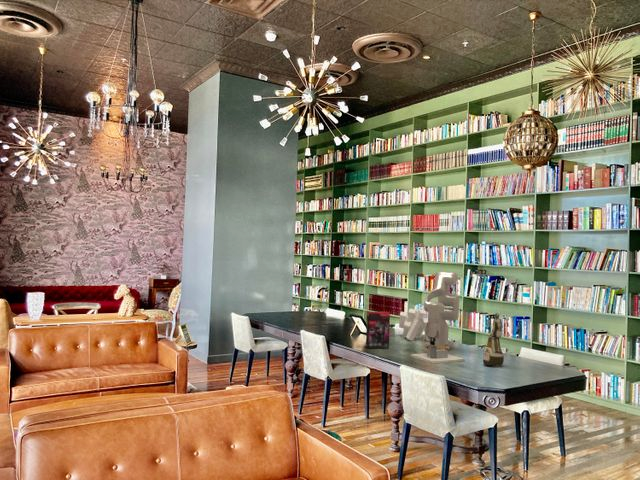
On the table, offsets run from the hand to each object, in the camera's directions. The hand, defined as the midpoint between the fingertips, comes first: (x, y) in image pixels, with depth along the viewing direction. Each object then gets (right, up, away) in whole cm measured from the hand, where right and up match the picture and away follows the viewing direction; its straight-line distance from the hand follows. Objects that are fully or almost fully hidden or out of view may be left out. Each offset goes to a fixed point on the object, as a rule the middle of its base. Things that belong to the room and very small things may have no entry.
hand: (432, 346), depth 354 cm
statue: (+37, -9, -18) cm, 42 cm away
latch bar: (+3, -1, -2) cm, 4 cm away
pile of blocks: (+1, -10, +76) cm, 77 cm away
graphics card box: (-36, -7, +26) cm, 45 cm away
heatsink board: (+2, -8, -5) cm, 9 cm away
